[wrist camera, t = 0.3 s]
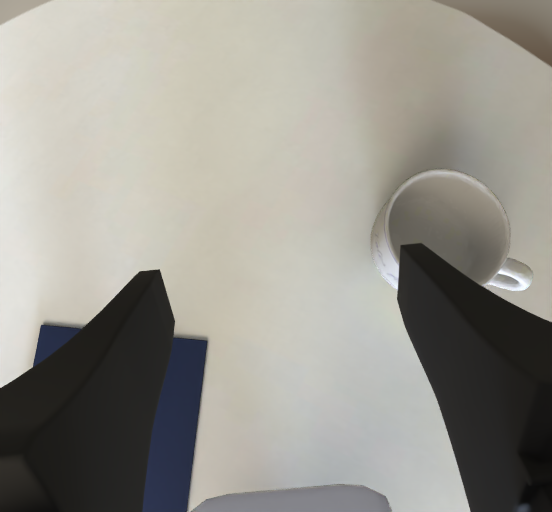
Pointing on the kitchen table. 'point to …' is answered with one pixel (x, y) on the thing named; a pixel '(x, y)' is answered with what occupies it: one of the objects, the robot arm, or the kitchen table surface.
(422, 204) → the teacup
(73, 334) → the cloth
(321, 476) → the kitchen table surface
